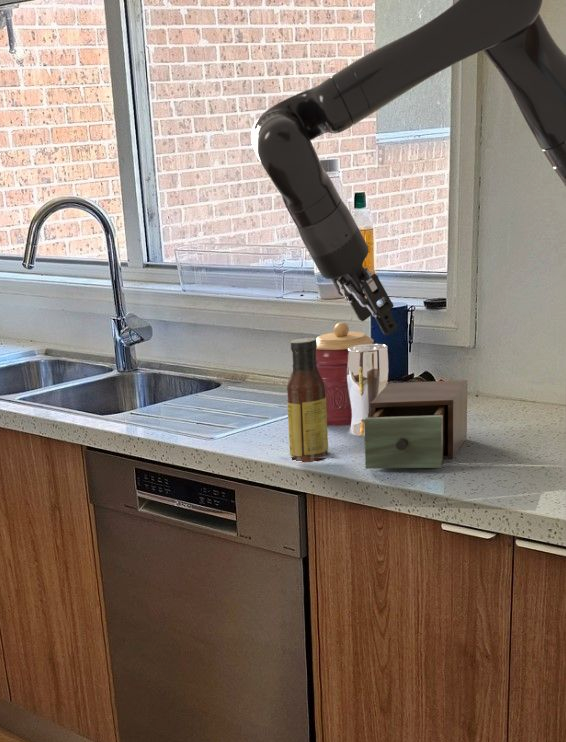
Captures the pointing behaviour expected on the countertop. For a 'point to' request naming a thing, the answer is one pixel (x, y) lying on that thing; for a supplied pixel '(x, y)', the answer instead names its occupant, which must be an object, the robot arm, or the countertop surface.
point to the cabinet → (431, 396)
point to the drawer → (406, 437)
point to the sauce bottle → (306, 404)
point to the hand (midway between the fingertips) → (378, 324)
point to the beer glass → (365, 381)
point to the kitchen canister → (337, 370)
